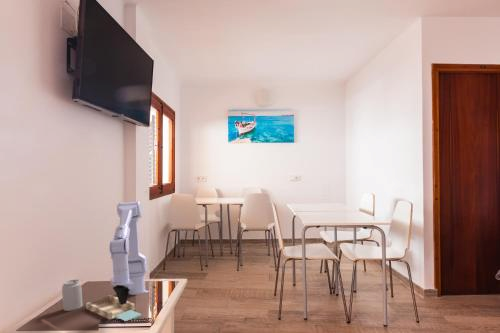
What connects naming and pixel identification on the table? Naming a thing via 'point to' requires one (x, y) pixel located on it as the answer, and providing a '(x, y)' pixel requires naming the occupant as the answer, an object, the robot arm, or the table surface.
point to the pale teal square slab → (128, 315)
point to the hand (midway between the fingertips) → (123, 303)
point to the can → (72, 295)
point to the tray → (109, 306)
